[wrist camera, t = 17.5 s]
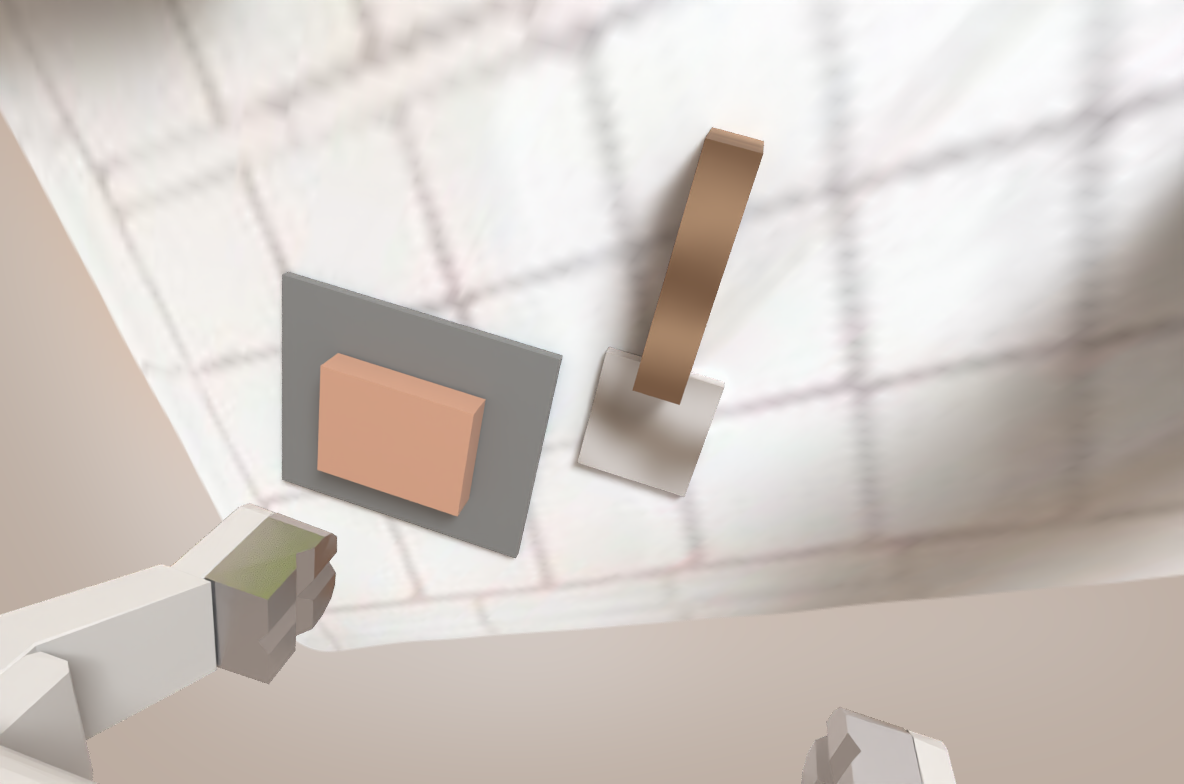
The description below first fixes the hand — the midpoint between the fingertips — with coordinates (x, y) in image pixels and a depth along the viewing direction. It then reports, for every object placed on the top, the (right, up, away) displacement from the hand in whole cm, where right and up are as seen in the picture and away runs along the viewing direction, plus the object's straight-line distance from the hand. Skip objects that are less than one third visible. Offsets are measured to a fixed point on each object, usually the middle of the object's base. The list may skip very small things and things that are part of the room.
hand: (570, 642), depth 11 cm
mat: (-12, +2, +35) cm, 37 cm away
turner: (+5, +8, +28) cm, 30 cm away
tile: (-11, +5, +32) cm, 34 cm away
